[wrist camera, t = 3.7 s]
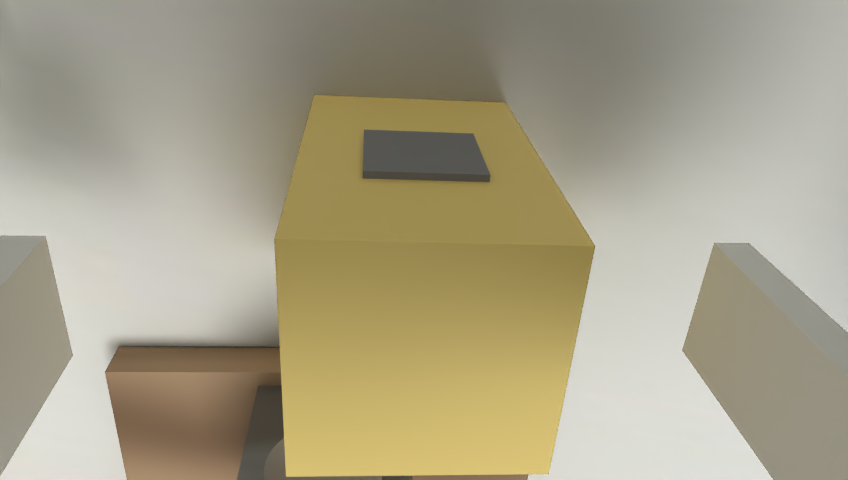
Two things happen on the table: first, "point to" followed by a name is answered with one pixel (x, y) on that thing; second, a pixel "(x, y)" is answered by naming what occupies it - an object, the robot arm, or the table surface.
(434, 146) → the yellow rectangular block
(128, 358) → the shaft base
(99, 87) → the table surface
